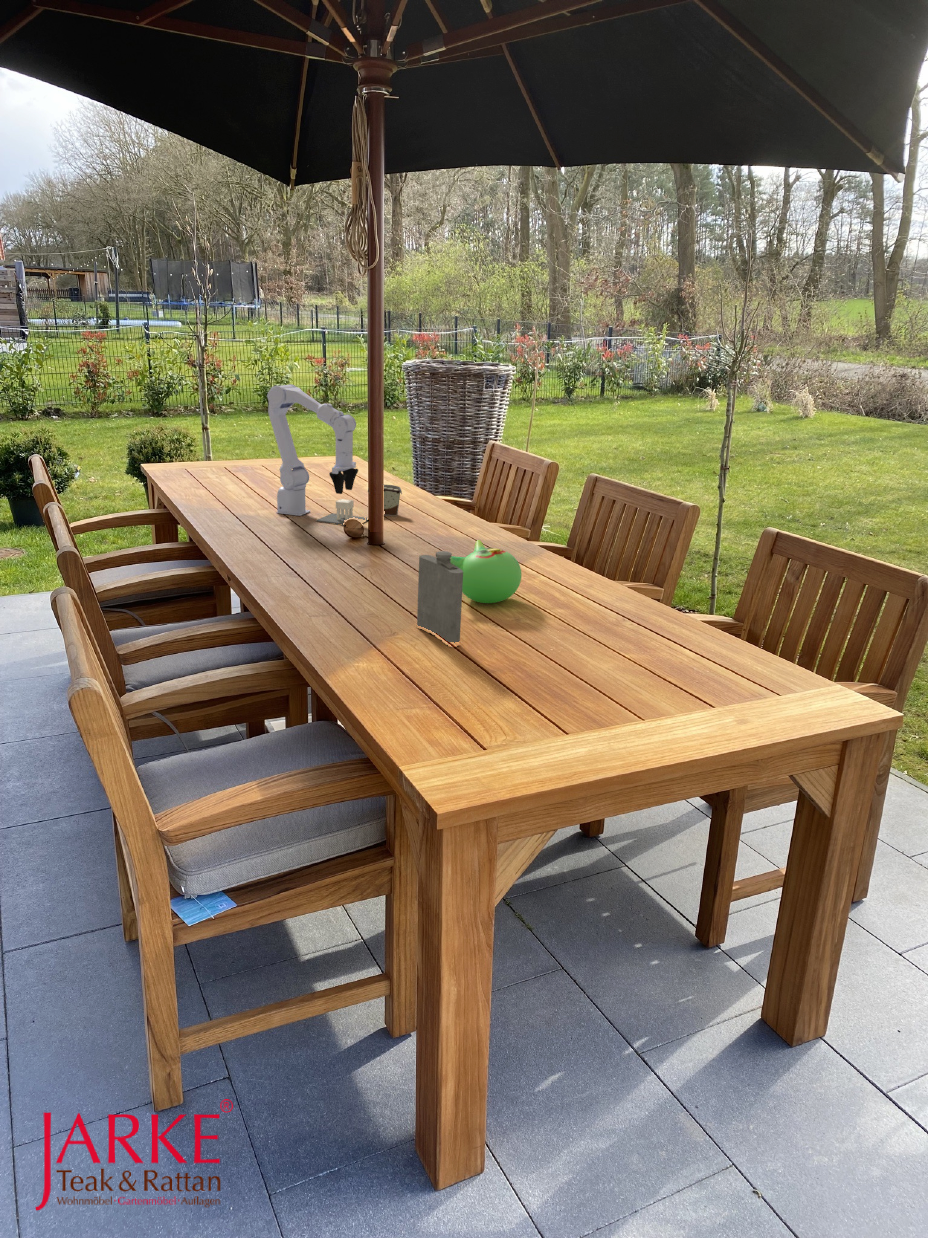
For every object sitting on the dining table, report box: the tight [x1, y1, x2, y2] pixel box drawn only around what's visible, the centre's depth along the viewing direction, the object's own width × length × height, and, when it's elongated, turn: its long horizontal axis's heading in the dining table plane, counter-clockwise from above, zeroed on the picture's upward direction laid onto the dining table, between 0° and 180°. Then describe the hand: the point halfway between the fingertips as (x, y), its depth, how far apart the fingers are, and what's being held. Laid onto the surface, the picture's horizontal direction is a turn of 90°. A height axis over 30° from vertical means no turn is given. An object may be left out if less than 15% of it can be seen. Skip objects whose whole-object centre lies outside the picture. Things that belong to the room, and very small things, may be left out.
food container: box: [367, 484, 403, 517], centre depth 322 cm, size 12×6×10 cm, turn 84°
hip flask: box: [416, 550, 463, 643], centre depth 204 cm, size 16×4×20 cm, turn 33°
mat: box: [315, 512, 368, 526], centre depth 310 cm, size 15×12×1 cm
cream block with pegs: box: [335, 498, 355, 520], centre depth 308 cm, size 5×5×6 cm
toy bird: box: [450, 539, 522, 604], centre depth 231 cm, size 18×17×15 cm
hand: (343, 491), depth 306 cm, fingers open, 7 cm apart
